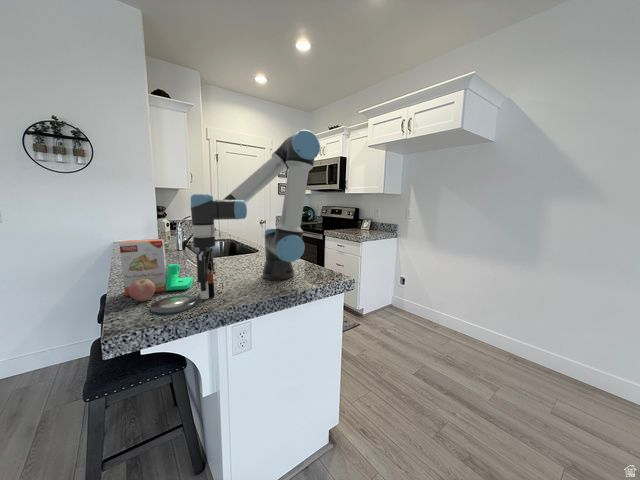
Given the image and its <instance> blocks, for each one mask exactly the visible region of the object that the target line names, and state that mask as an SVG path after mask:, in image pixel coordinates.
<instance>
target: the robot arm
mask: <svg viewBox="0 0 640 480" xmlns="http://www.w3.org/2000/svg"><path fill="white" fill-rule="evenodd" d="M320 151H321V143H320V141H319V138H318V137H317V135H316V134H315V133H314V132H312V131H311V130H307V129H302V130H298V131H296V132H294V133H293V134H291V136H289V137H287V138H285V140H284V141H283V142H282V143H281V144H280V146H278V148H277V149H276V150H275V151H273V153H271V157H270V158H269V159H268V160H267V161H266V162H264V163H263V164H262V165H261V166H260V167H259V168H258V169H256V171H254V172H253V173H252V174H251V175H249V176H248V177H247V178H246V179H245V180H243V181H242V182H241V183H240V184H239V185H238V186H237V187H235V188H234V189H233V190H232V191H231V192H230V193H229V194H228V195H226V196H225V197H224V198H223V199H214V198H213V197H214V196H213V194H210V193H209V194H207V193H206V194H203V193H201V194H200V193H196V194H195V193H194V194H191V196H190V212H191V214H190V215H191V216H190V217H191V223H192V225H191V226H192V227H190V230H191V231H192V236H194V237H193V238H192V240H193V242H192V243H193V247H194V248H196V249H197V248H198V254H196V257H195V258H196V268H197V269H196V270H197V272H196V274H197V276H196V277H197V278H196V279H197V280H196V283H199V292H200V293H199V294H200V300H206V299H207V300H208V299H210V298H209V290H208V281H207V269H209V270H213V275H216V271H215V264H214V263H215V262H214V255H213V253H214V249H213V247H215V246H216V237H215V235H216V233H215V232H216V230H215V220H216V221H219V220H236V221H237V220H244V219H246V218H247V213H248V208H247V203H248V202H250V201H251V200H252V199H253V198H255V196H256V195H257V194H259V193H260V192H261V191H262V190H263V189H264V188H265V187H266V186H268V184H270V183H271V182H272V181H273V180H274V179H276V178H277V177H278V176H279V175H280V174H281V173H283V172H286V171H287V175H286V177H287V178H286V182H285V183H286V184H285V190H284V197H283V204H282V210H281V215H280V223H279V225H277V226H276V228H269V229H265V231H264V244H265V246H264V248H265V262H264V266H263V269H262V272H261V273H262V278H263V279H265V280H269V281H282V280H287V279H291V278H294V276H295V269H294V267H293V264H292V262H296V261H297V260H299V259H300V258H301V257H302V256H303V254H304V252H305V242H304V240H303V236H304V230H303V229H302V228H301V226H302V225H301V224H302V219H303V218H302V217H303V212H304V211H303V210H304V206H305V204H304V203H305V199H306V193H307V192H306V191H307V185H308V178H309V172H310V171H311V170H312V169H313V168H314V164H315V159H316V158H317V157H318V155H319V153H320ZM202 278H203V279H202Z"/></svg>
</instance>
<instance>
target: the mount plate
mask: <svg viewBox="0 0 640 480" xmlns="http://www.w3.org/2000/svg"><path fill="white" fill-rule="evenodd" d="M197 301H198V300H197V297H196V296H194V295H187V294H186V295H185V294H181V295H172V296H168V297H167V296H166V297H164V298H162V299H158V300H156V301H155V302H153V303H151V305H150V312H151V313H152V314H155V315H164V316H165V315H173V314H178V313H181V312H185V311H188V310H191V309H193V308H194V307H195V306H196V305H197Z"/></svg>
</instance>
